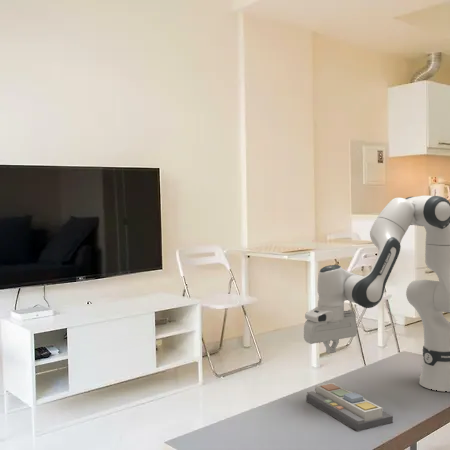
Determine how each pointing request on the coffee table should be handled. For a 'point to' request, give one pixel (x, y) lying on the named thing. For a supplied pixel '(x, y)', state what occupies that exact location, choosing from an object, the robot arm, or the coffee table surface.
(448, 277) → the robot arm
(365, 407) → the key ochre
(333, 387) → the key terracotta
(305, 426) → the coffee table surface
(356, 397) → the key slate
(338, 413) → the coloured button panel
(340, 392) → the key sage
